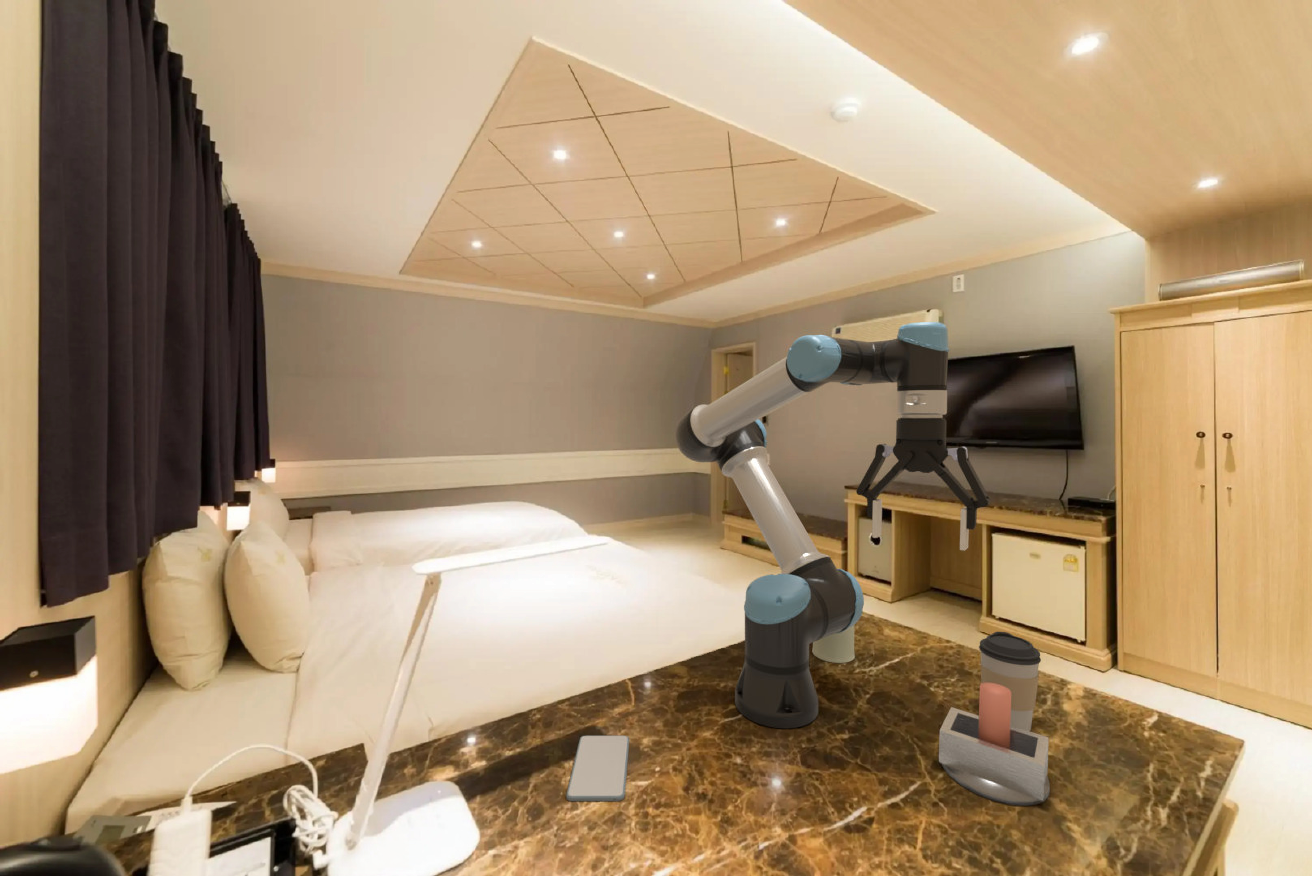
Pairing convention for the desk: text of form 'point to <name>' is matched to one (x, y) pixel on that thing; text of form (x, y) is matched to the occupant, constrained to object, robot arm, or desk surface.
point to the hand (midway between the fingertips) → (918, 542)
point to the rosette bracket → (995, 761)
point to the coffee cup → (1012, 672)
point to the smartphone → (599, 769)
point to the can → (836, 647)
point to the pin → (995, 714)
